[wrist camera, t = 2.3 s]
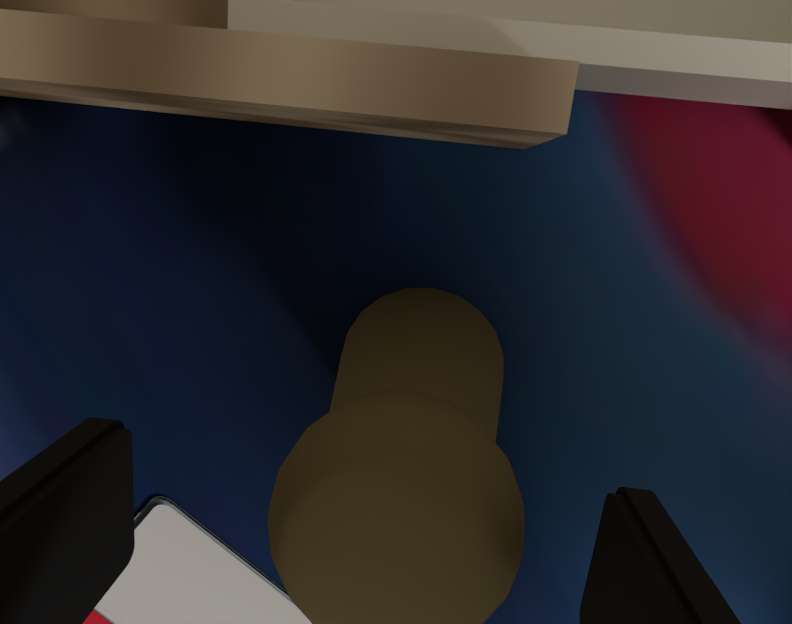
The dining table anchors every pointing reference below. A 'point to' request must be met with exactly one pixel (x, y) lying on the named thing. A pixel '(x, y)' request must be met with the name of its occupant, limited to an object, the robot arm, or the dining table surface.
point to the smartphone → (191, 577)
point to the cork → (403, 475)
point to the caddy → (275, 74)
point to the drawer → (575, 38)
